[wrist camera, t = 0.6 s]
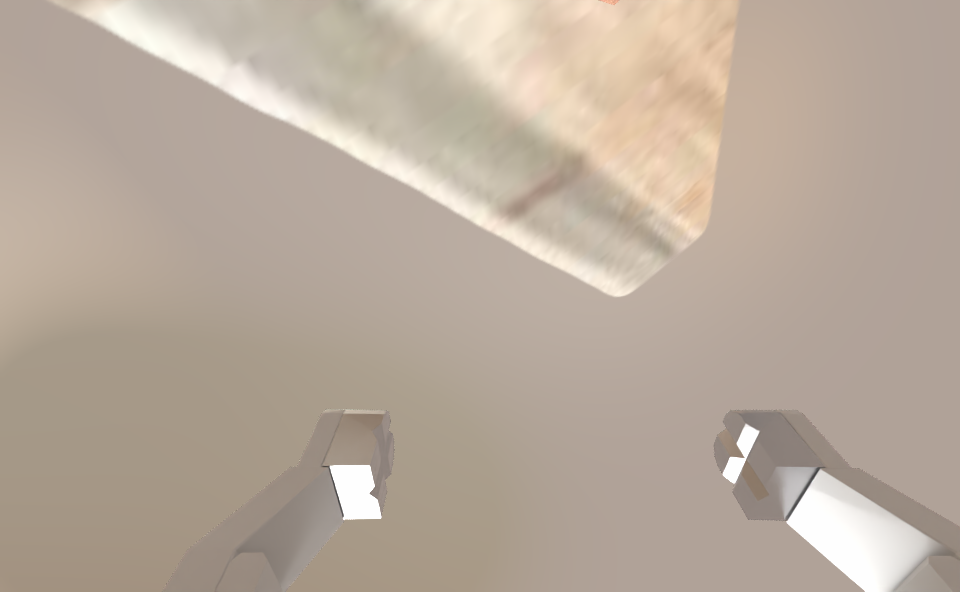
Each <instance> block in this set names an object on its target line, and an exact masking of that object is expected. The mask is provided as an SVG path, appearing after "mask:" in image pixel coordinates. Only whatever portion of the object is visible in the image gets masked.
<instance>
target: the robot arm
mask: <svg viewBox="0 0 960 592" xmlns="http://www.w3.org/2000/svg"><path fill="white" fill-rule="evenodd" d="M390 422H391V420H390V415H389V412H388V411H386V410H351V409H350V410H349V409H346V410H336V409H325V411H324V412H323V413H322V414H321V415H320V417H319V420H318V422H317V424H316V426H315V428H314V430H313V432H312V435H311V437H310V439H309V441H308V443H307V446H306V448H305V450H304V452H303V454H302V457H301V459H300V461H299V463H298V465H297V467H290V468H289V469H287V470H286V471H285V472H284V473H282V474H281V475H280V476H279V477H277V478H276V479H275V480H274V481H272V482H271V483H270V484H269V485H267V486H266V487H265V488H264V489H263V490H261V491H260V492H259V493H257V494H256V495H255V496H254V497H252V498H251V499H250V500H249V501H248V502H246V503H245V504H244V505H242V506H241V507H240V508H239V509H238V510H236V511H235V512H234V513H233V514H231V515H230V516H229V517H228V518H226V519H225V520H224V521H223V522H221V523H220V524H219V525H218V526H216V527H215V528H214V529H213V530H212V531H210V532H209V533H208V534H206V536H204V537H203V538H201V539H200V540H199V541H198V542H196V543H195V544H194V545H193V546H191V547H190V548H189V549H188V550H187V551H186V553H185V555H184V556H183V558H182V559H181V561H180V563H179V564H178V566H177V568H176V569H175V571H174V573H173V574H172V576H171V578H170V579H169V581H168V583H167V584H166V586H165V588H164V589H163V591H162V592H285V591H286V590H287V589H288V588H289V587H290V585H291V584H292V583H293V582H294V581H295V579H296V578H297V577H298V576H299V575H300V573H301V572H302V571H303V570H304V569H305V567H306V566H307V565H308V564H309V563H310V561H311V560H312V559H313V558H314V557H315V556H316V554H317V553H318V552H319V551H320V549H321V548H322V547H323V546H324V545H325V544H326V542H327V541H328V540H329V539H330V538H331V536H332V535H333V534H334V533H335V532H336V530H337V529H338V528H339V527H340V526H341V524H342V523H343V522H344V519H361V518H362V519H363V518H381V516H382V512H383V507H384V503H385V498H386V494H387V488H386V482H385V479H386V478H387V477H388V476H390V474H391V471H392V466H393V460H394V438H393V434H392V433H391V432H390V431H389V427H390ZM723 423H724V425H725V427H726V429H725V430H723V431H722V432H721V433H719V434H718V435H717V437H716V440H715V443H714V452H715V453H714V455H715V459H716V462H717V465H718V467H719V469H720V471H721V473H722V474H723V476H725V477H726V478H728V479H729V480H730V481H731V482H733V483H734V488H733V494H734V496H735V497H736V499H737V501H738V503H739V504H740V506H741V508H742V510H743V511H744V513H745V515H746V517H747V518H748V520H750V519H751V520H779V521H780V520H781V521H787V523H788V524H789V525H790V526H791V527H792V528H793V529H794V530H795V531H797V532H798V533H799V534H800V535H801V536H802V537H803V538H805V539H806V540H807V541H808V542H809V543H810V544H812V545H813V546H814V547H815V548H816V549H817V550H818V551H820V552H821V553H822V554H823V555H824V556H826V558H828V559H829V560H830V561H831V562H832V563H833V564H835V565H836V566H837V567H838V568H839V569H840V570H842V571H843V572H844V573H845V574H846V575H847V576H848V577H850V578H851V579H852V580H853V581H854V582H856V583H857V584H858V585H859V586H860V587H861V588H862V589H863V590H864V591H866V592H960V527H959V526H958V525H956V524H954V523H953V522H951V521H949V520H948V519H946V518H944V517H942V516H941V515H939V514H937V513H935V512H934V511H932V510H930V509H928V508H927V507H925V506H923V505H921V504H920V503H918V502H916V501H915V500H913V499H911V498H909V497H908V496H906V495H904V494H903V493H901V492H899V491H897V490H896V489H894V488H892V487H890V486H889V485H887V484H885V483H884V482H882V481H880V480H878V479H877V478H875V477H873V476H871V475H870V474H868V473H866V472H864V471H863V470H861V469H859V468H851V467H850V466H849V464H848V463H847V462H846V461H845V460H844V459H843V458H842V457H841V456H840V454H839V453H838V452H837V451H836V450H835V449H834V448H833V446H832V445H831V444H830V443H829V442H828V441H827V440H826V439H825V437H824V436H823V435H822V434H821V433H820V432H819V431H818V430H817V429H816V427H815V426H814V425H813V424H812V423H811V422H810V421H809V420H808V418H807V417H806V416H805V415H804V414H803V413H801V412H799V411H798V410H731V411H729V412H728V413H727V414H726V415H725V418H724V420H723Z"/></svg>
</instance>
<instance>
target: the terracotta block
mask: <svg viewBox="0 0 960 592" xmlns="http://www.w3.org/2000/svg"><path fill="white" fill-rule="evenodd" d="M600 1H603V2H606V3H609V4H612V5H615V4H616V3H617V2H618V1H619V0H600Z"/></svg>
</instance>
